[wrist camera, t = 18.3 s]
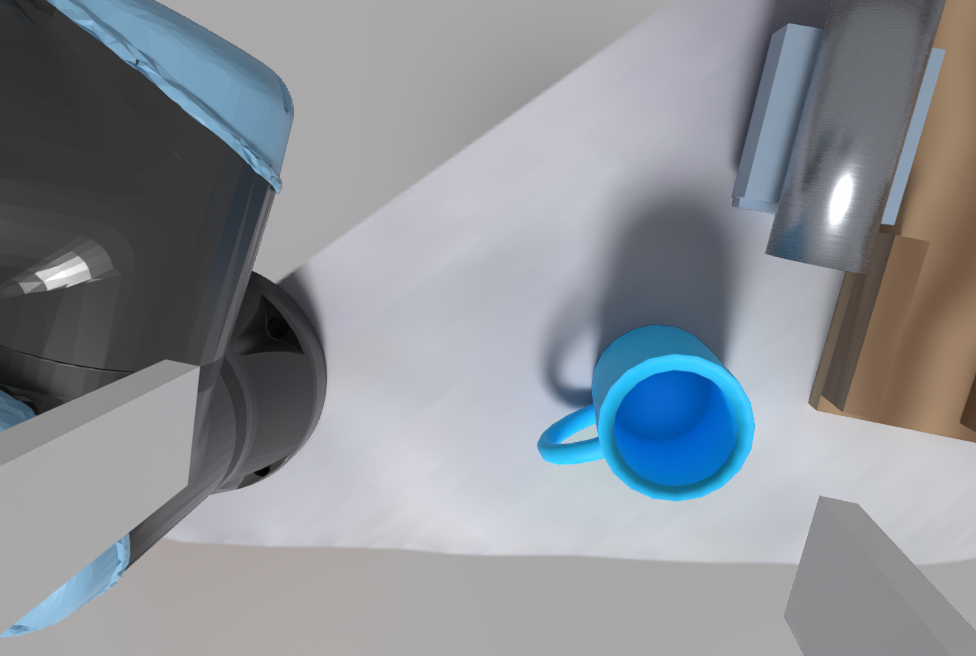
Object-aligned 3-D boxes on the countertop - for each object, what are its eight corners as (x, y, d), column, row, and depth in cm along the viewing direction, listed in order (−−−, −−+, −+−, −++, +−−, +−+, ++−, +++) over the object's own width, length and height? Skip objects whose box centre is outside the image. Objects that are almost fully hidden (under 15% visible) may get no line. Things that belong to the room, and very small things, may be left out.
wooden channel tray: (808, 403, 46) (837, 429, 41) (924, -1, 41) (973, -26, 36) (971, 436, 45) (1020, 466, 40) (1108, 30, 40) (1183, 8, 36)
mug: (696, 305, 46) (725, 331, 38) (739, 423, 47) (776, 473, 39) (517, 371, 48) (508, 409, 40) (562, 483, 49) (562, 542, 41)
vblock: (724, 204, 44) (742, 206, 40) (766, 31, 42) (790, 12, 38) (858, 229, 44) (891, 234, 39) (908, 55, 42) (949, 39, 37)
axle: (865, 271, 40) (866, 275, 35) (770, 252, 42) (759, 253, 37) (945, -1, 37) (957, -34, 32) (838, -8, 39) (836, -40, 34)
